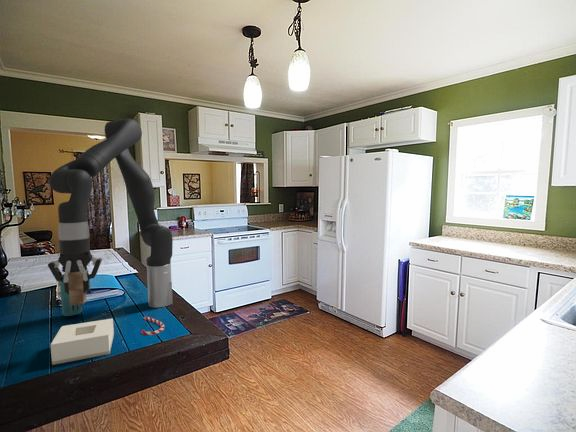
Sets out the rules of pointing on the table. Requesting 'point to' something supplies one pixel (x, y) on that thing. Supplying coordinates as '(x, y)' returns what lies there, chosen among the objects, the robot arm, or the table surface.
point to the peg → (76, 288)
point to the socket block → (82, 341)
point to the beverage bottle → (68, 302)
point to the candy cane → (153, 322)
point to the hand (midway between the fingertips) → (77, 292)
